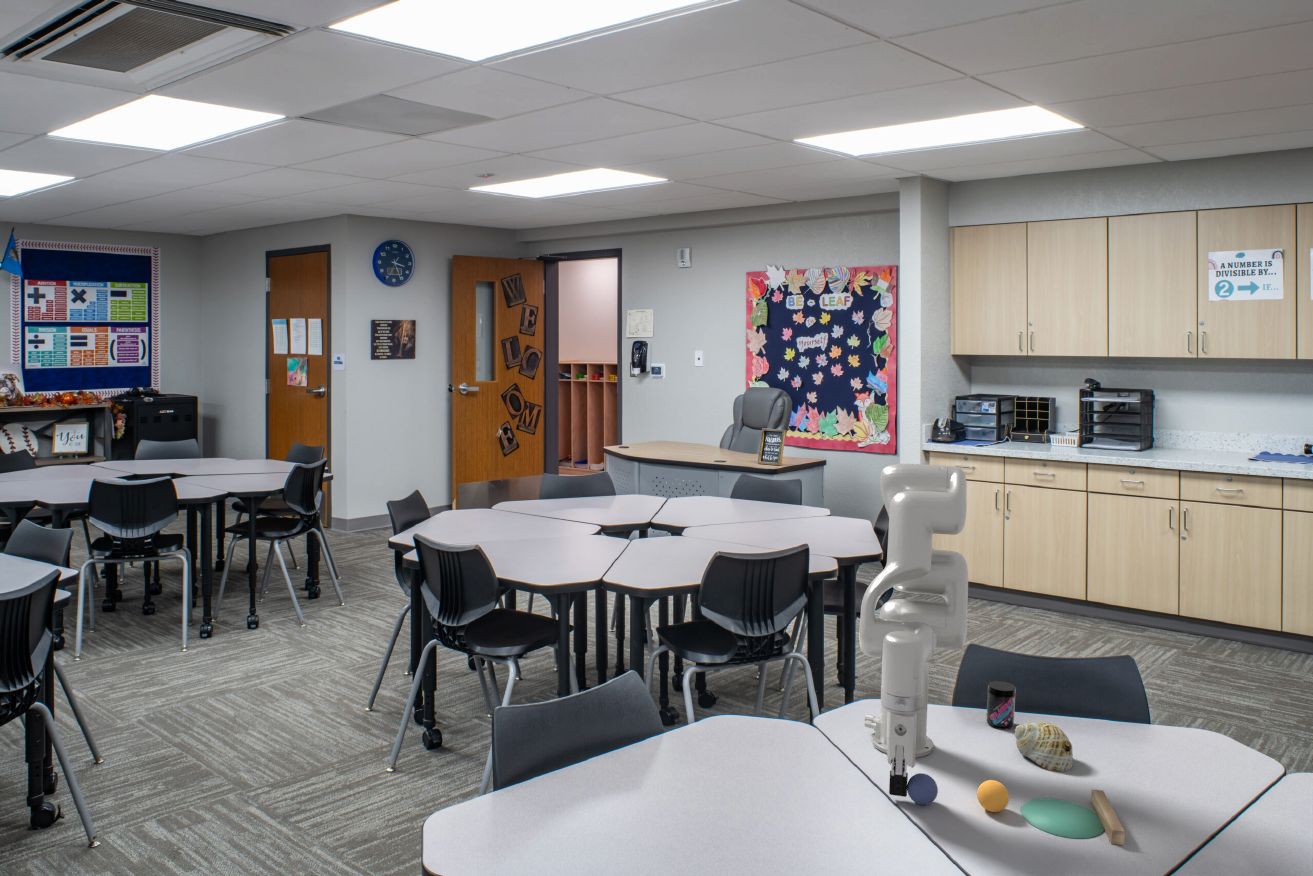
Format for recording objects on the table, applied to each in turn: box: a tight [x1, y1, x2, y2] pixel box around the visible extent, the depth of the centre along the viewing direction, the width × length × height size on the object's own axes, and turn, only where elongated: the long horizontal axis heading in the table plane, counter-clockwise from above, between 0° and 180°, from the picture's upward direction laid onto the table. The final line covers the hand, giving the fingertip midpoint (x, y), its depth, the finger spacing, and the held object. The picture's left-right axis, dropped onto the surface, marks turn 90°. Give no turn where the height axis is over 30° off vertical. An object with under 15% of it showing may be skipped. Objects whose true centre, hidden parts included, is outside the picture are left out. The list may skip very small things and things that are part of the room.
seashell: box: [1014, 721, 1074, 772], centre depth 195 cm, size 11×10×10 cm
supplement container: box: [986, 680, 1017, 730], centre depth 212 cm, size 6×6×9 cm
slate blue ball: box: [907, 772, 939, 806], centre depth 176 cm, size 6×6×6 cm
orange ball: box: [976, 779, 1010, 813], centre depth 173 cm, size 6×6×6 cm
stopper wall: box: [1090, 789, 1126, 846], centre depth 169 cm, size 2×15×2 cm, turn 168°
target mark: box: [1020, 797, 1105, 839], centre depth 171 cm, size 14×14×1 cm
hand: (898, 793), depth 177 cm, fingers closed
